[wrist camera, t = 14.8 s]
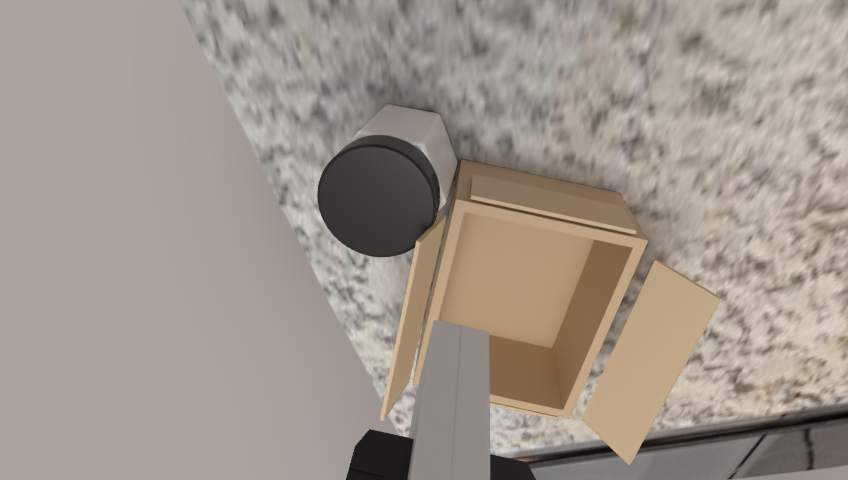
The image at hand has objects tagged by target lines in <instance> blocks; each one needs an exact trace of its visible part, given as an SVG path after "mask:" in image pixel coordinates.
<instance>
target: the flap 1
mask: <svg viewBox="0 0 848 480" xmlns="http://www.w3.org/2000/svg"><path fill="white" fill-rule="evenodd" d="M446 218H447V216H446V215H442V216H441V217H440V218H439V219H438V220H437V221H436V222H435V223H434V224H433V225H432V227H431V228H429V229H428V230H427V231H426V232H425V233H424V234H423V235H422V236H421V237H420V238H419V239H418V240H417V241H416V245H415V250H414V255H413V260H412V265H411V270H410V274H409V279H408V284H407V289H406V294H405V299H404V304H403V309H402V314H401V319H400V324H399V328H398V333H397V338H396V343H395V348H394V353H393V358H392V363H391V368H390V373H389V378H388V383H387V387H386V392H385V397H384V402H383V407H382V412H381V417H380V420H382V421H384V420H385V418H386V416H387V415H388V414H389V412H390V410H391V409H392V407H393V406H394V404H395V403H396V401H397V400H398V398H399V397H400V395H401V394H402V392H403V391H404V389H405V388H406V386H407V384H408V383H409V379H410V375H411V370H412V366H413V362H414V357H415V353H416V349H417V344H418V340H419V335H420V331H421V327H422V322H423V318H424V314H425V309H426V305H427V301H428V296H429V292H430V287H431V283H432V279H433V274H434V270H435V266H436V261H437V257H438V253H439V248H440V244H441V240H442V235H443V231H444V226H445V222H446Z"/></svg>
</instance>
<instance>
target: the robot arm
mask: <svg viewBox="0 0 848 480" xmlns="http://www.w3.org/2000/svg"><path fill="white" fill-rule="evenodd" d="M346 480H536V479H535V477H534V475H533V473H532V471H531V469H530V467H529V465H528V463H527V462H523V461H519V460H514V459H510V458H505V457H500V456H496V455H491V454H490V380H489V332H488V331H483V330H479V329H474V328H470V327H465V326H460V325H456V324H451V323H447V322H442V321H437V320H434V322H433V326H432V330H431V334H430V338H429V342H428V346H427V351H426V355H425V359H424V363H423V367H422V371H421V375H420V380H419V384H418V388H417V392H416V397H415V403H414V409H413V415H412V421H411V427H410V433H409V438H407V437H403V436H398V435H393V434H389V433H384V432H380V431H375V430H371V429H370V430H369V431H368V432H367V433H366V434H365V435H364V436H363V438H362V439H361V440H360V441H359V442H358V443H357V445H356V446H355V449H354V452H353V456H352V460H351V463H350V467H349V471H348V474H347V478H346Z"/></svg>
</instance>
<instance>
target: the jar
mask: <svg viewBox="0 0 848 480" xmlns="http://www.w3.org/2000/svg"><path fill="white" fill-rule="evenodd" d="M457 165H458V162H457V159H456V156H455V154H454V151H453V148H452V146H451V143H450V140H449V138H448V135H447V132H446V129H445V127H444V124H443V121H442V118H441V116H440V114H438V113H432V112H427V111H422V110H416V109H411V108H406V107H400V106H395V105H390V104H387V105H385V106H384V107H383V108H382V109H381V110H380V111H379V112H378V113H377V114H376V115H375V116H374V117H373V118H371V119H370V120H369V121H368V122H367V123H366V124H365V125H364V126H363V127H362V128H361V129H360V130H359V131H358V132H357V133H356V134H355V136H354V137H353V138H352V140H351V141H350V142H349V144H348V145H347V146H345V147H344V148H343V149H342V150H341V151H340V152H339V153H338V154H337V155H336V156H335V157H334V158H333V159H332V160H331V161H330V162H329V163H328V165H327V166H326V167H325V169H324V171H323V173H322V175H321V178H320V181H319V185H318V195H317V196H318V205H319V210H320V213H321V216H322V218H323V220H324V222H325V224H326V226H327V227H328V229H329V230H330V231H331V233H332V234H333V235H334V236H335V237H336V238H337V239H338V240H339V241H340V242H341V243H343V244H344V245H346V246H347V247H349V248H350V249H352V250H354V251H356V252H359V253H361V254H365V255H368V256H373V257H391V256H396V255H400V254H403V253H405V252H407V251H410V250H411V249H413V248H414V247H415V245H416V241H417V240H418V239H419V238H420V237H421V236H422V235H423V234H424V233H425V232H426V231H427V230H428V229H429V228H431V227H432V225H433V224H434V222H435V220H436V217H437V215H436V213H438V211H439V210H440V209H441V208H442V207H443V206H444V205H445V204H446V201H447V198H448V195H449V191H450V188H451V185H452V181H453V178H454V175H455V171H456V168H457Z"/></svg>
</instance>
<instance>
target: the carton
mask: <svg viewBox="0 0 848 480" xmlns="http://www.w3.org/2000/svg"><path fill="white" fill-rule="evenodd" d="M647 243H648V239H647V237H646V236H645V234H644V232H643V231H642V229H641V227H640V226H639V224H638V222H637V221H636V219H635V217H634V216H633V214H632V212H631V211H630V209H629V207H628V206H627V204H626V202H625V201H624V199H623V197H622V196H621V194H620V193H618V192H613V191H608V190H604V189H599V188H594V187H590V186H585V185H580V184H576V183H571V182H566V181H562V180H557V179H552V178H548V177H543V176H538V175H534V174H529V173H524V172H520V171H515V170H510V169H506V168H501V167H496V166H492V165H487V164H482V163H478V162H473V161H468V160H464V159H461V163H460V167H459V171H458V176H457V180H456V184H455V189H454V193H453V198H452V202H451V206H450V211H449V215H448V219H447V224H446V228H445V232H444V237H443V241H442V245H441V250H440V254H439V258H438V263H437V267H436V271H435V276H434V280H433V284H432V289H431V293H430V297H429V302H428V306H427V310H426V315H425V319H424V323H423V329H422V334H421V340H420V346H419V351H418V357H417V363H416V368H415V374H414V379H413V385H416V386H418V384H419V380H420V375H421V371H422V367H423V363H424V359H425V355H426V351H427V346H428V342H429V338H430V334H431V330H432V326H433V322H434V320H437V321H442V322H447V323H451V324H456V325H460V326H465V327H470V328H474V329H479V330H483V331H488V332H489V380H490V405H492V406H496V407H501V408H506V409H510V410H515V411H519V412H524V413H528V414H533V415H538V416H542V417H547V418H551V419H557V416H559V417H563V418H568V419H570V416H571V414H572V412H573V410H574V407H575V405H576V403H577V401H578V398H579V396H580V394H581V391H582V389H583V387H584V385H585V382H586V380H587V378H588V376H589V373H590V371H591V369H592V367H593V364H594V362H595V360H596V358H597V355H598V353H599V351H600V349H601V346H602V344H603V342H604V340H605V337H606V335H607V333H608V331H609V328H610V326H611V324H612V322H613V319H614V317H615V315H616V313H617V310H618V308H619V306H620V303H621V301H622V299H623V297H624V294H625V292H626V290H627V288H628V285H629V283H630V281H631V279H632V276H633V274H634V272H635V270H636V267H637V265H638V263H639V261H640V258H641V256H642V254H643V252H644V249H645V247H646V245H647Z"/></svg>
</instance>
